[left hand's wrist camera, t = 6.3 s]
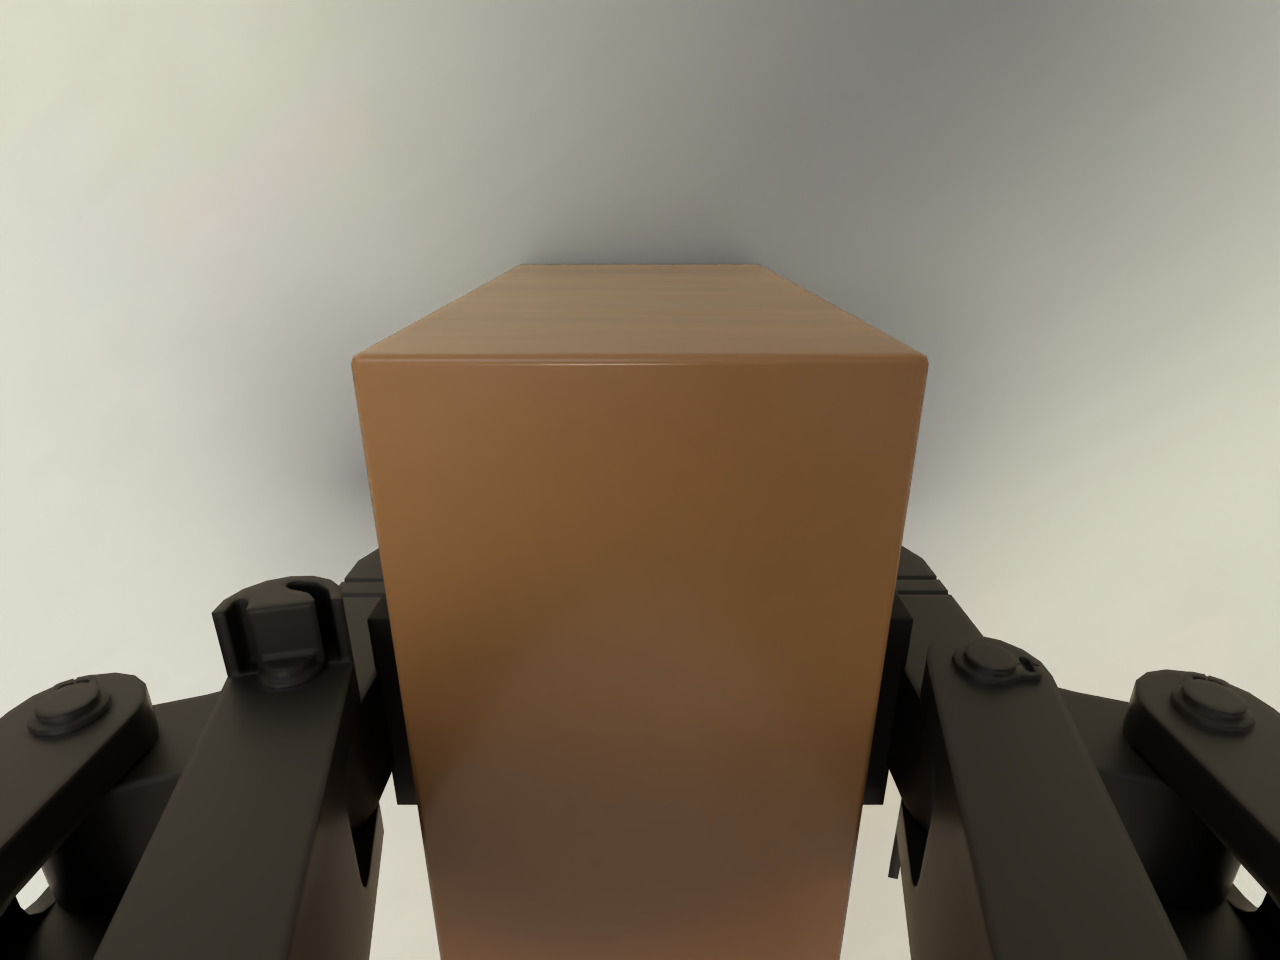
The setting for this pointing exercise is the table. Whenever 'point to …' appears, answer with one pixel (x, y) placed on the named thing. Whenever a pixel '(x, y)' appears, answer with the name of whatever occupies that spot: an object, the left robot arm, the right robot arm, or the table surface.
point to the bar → (640, 603)
